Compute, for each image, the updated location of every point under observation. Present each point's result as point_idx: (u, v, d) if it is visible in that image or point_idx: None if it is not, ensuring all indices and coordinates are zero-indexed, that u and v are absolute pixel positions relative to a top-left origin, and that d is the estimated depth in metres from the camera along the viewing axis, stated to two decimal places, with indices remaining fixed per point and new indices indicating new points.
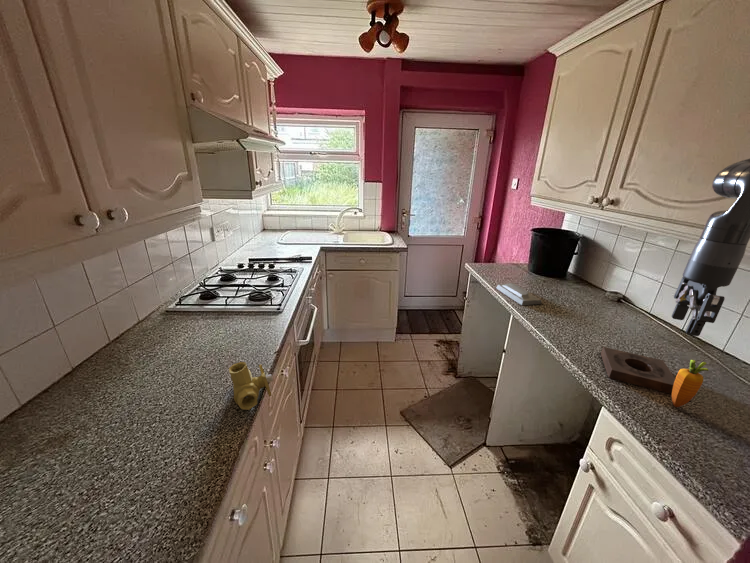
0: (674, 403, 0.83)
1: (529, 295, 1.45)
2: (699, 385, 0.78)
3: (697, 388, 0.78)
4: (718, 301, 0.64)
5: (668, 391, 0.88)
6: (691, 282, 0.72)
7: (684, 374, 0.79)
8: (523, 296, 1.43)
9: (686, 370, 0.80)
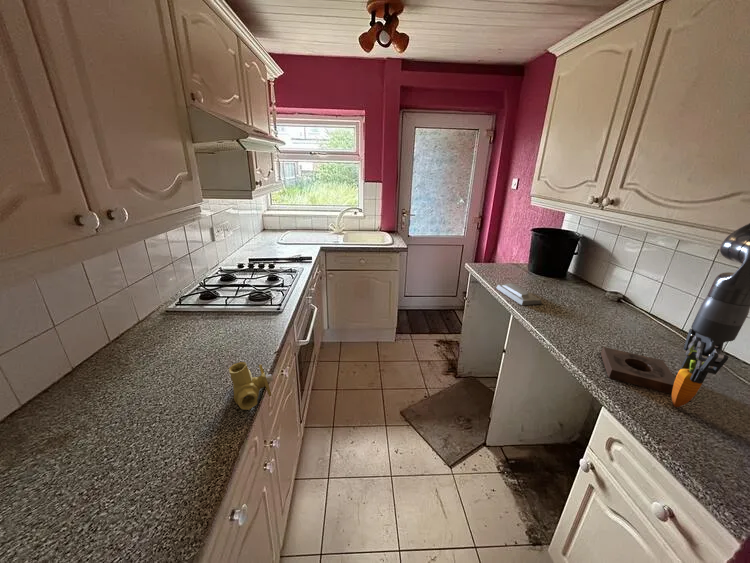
0: (674, 403, 0.83)
1: (529, 295, 1.45)
2: (699, 385, 0.78)
3: (697, 388, 0.78)
4: (721, 359, 0.71)
5: (668, 391, 0.88)
6: None
7: (685, 374, 0.79)
8: (523, 296, 1.43)
9: (686, 370, 0.80)
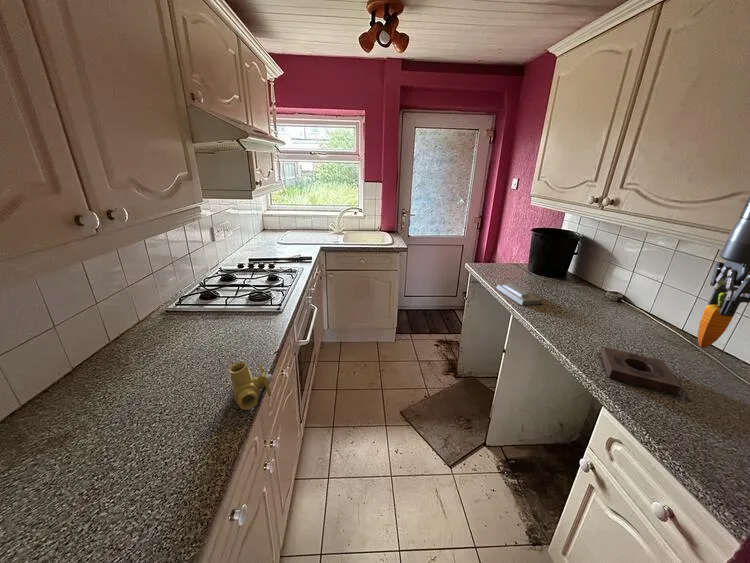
0: (700, 343, 0.77)
1: (529, 295, 1.45)
2: (729, 319, 0.72)
3: (727, 323, 0.72)
4: None
5: (668, 391, 0.88)
6: (728, 262, 0.72)
7: (713, 309, 0.73)
8: (523, 296, 1.43)
9: (714, 305, 0.74)
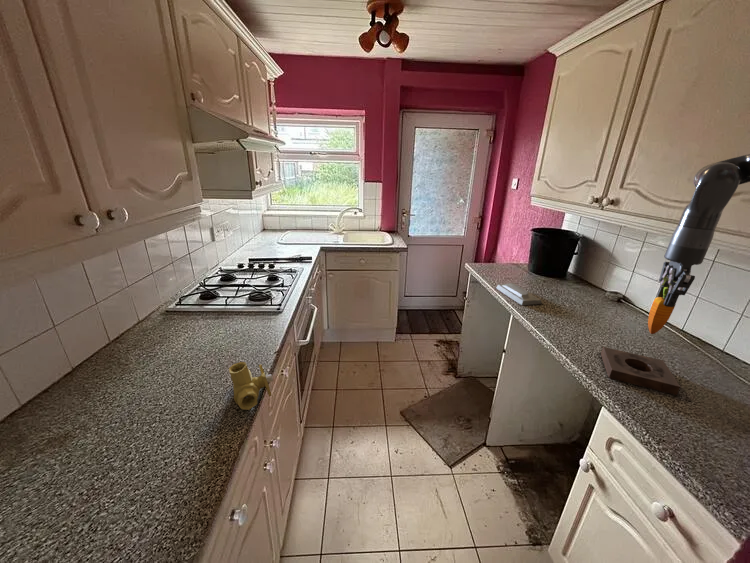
0: (650, 330, 0.91)
1: (529, 295, 1.45)
2: (672, 309, 0.86)
3: (670, 313, 0.86)
4: (689, 279, 0.79)
5: (668, 391, 0.88)
6: (671, 261, 0.86)
7: (658, 301, 0.87)
8: (523, 296, 1.43)
9: (660, 298, 0.88)
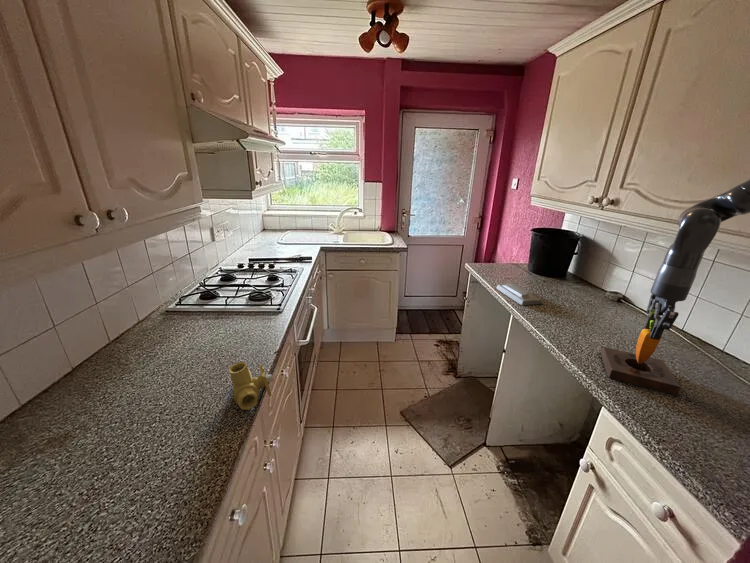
0: (638, 360, 0.95)
1: (529, 295, 1.45)
2: (658, 341, 0.90)
3: (656, 345, 0.90)
4: (673, 316, 0.83)
5: (668, 391, 0.88)
6: None
7: (645, 333, 0.91)
8: (523, 296, 1.43)
9: (647, 330, 0.92)
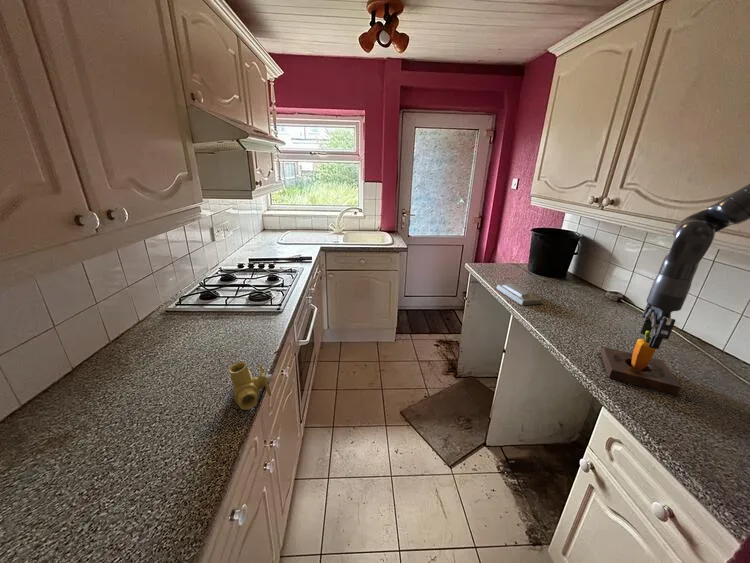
0: None
1: (529, 295, 1.45)
2: (653, 352, 0.91)
3: (651, 355, 0.92)
4: (670, 322, 0.83)
5: (668, 391, 0.88)
6: None
7: (641, 343, 0.92)
8: (523, 296, 1.43)
9: (642, 340, 0.93)
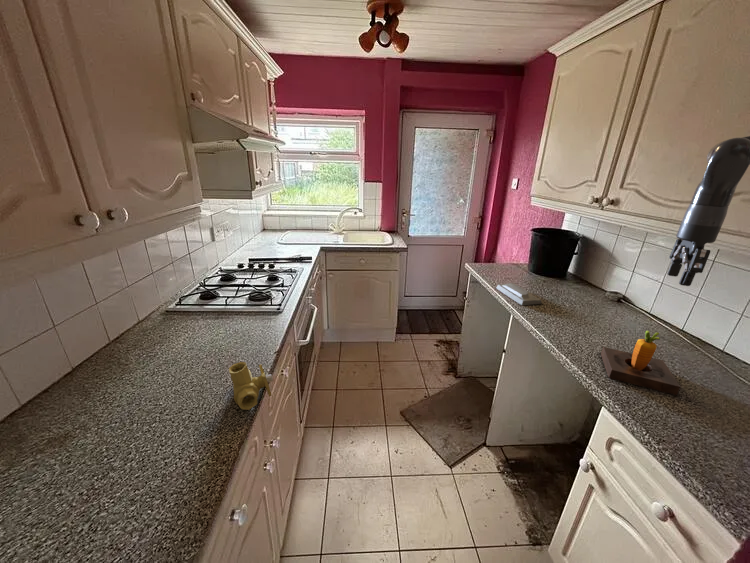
0: None
1: (529, 295, 1.45)
2: (653, 352, 0.91)
3: (651, 355, 0.92)
4: (705, 254, 0.78)
5: (668, 391, 0.88)
6: (683, 242, 0.85)
7: (641, 343, 0.92)
8: (523, 296, 1.43)
9: (642, 340, 0.93)
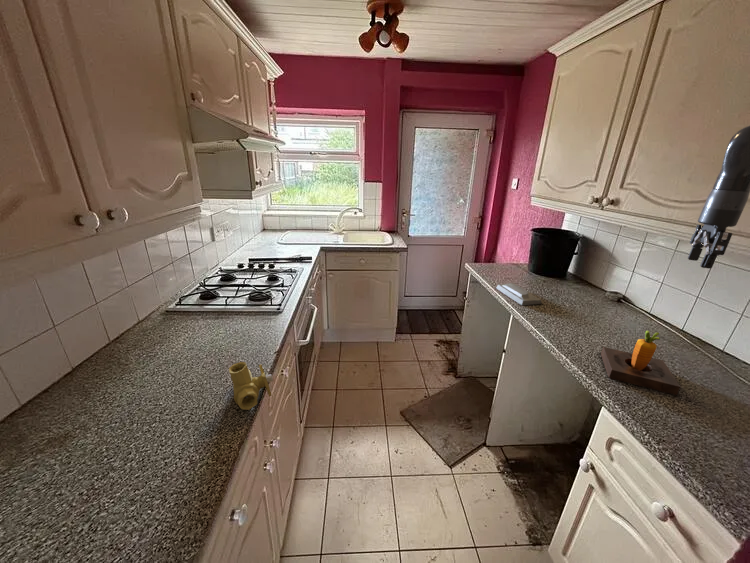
0: None
1: (529, 295, 1.45)
2: (653, 352, 0.91)
3: (651, 355, 0.92)
4: (727, 236, 0.81)
5: (668, 391, 0.88)
6: (704, 227, 0.89)
7: (641, 343, 0.92)
8: (523, 296, 1.43)
9: (642, 340, 0.93)
